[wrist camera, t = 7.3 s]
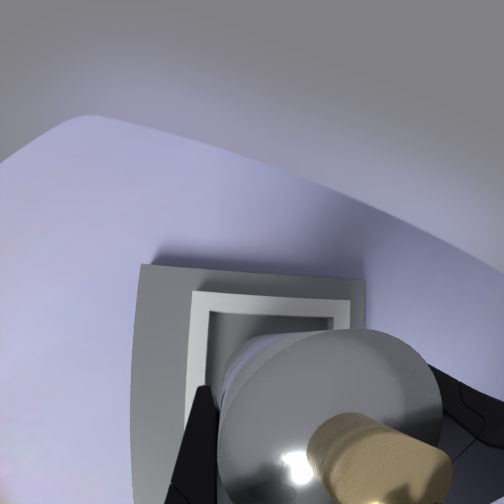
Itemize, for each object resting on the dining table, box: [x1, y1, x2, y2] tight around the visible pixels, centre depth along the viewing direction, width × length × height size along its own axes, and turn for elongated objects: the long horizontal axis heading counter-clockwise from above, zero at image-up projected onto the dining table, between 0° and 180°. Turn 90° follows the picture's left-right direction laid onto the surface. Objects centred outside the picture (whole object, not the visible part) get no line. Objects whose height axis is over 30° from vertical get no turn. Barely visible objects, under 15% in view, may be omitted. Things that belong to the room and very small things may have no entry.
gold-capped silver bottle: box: [217, 328, 453, 504], centre depth 9 cm, size 5×5×14 cm
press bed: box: [130, 264, 365, 504], centre depth 16 cm, size 20×14×3 cm
